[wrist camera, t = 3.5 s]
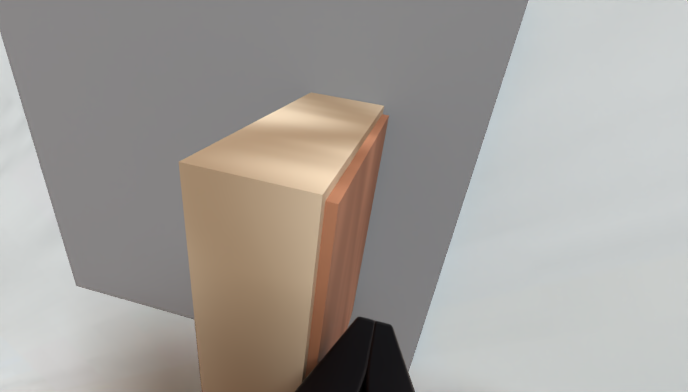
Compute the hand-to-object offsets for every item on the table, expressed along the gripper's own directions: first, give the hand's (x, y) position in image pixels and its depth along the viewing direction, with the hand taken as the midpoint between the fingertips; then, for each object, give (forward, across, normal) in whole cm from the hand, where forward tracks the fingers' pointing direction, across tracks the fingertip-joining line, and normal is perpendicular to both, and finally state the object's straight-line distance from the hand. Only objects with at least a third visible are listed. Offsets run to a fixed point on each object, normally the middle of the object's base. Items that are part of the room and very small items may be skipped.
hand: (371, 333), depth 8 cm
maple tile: (+5, +2, 0) cm, 5 cm away
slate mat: (+5, +6, 0) cm, 8 cm away
